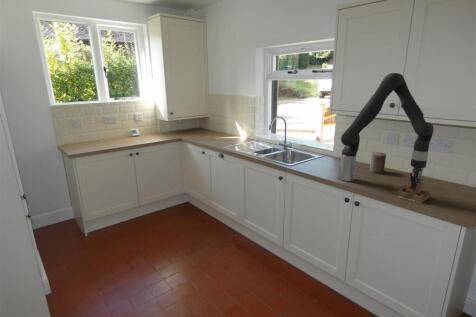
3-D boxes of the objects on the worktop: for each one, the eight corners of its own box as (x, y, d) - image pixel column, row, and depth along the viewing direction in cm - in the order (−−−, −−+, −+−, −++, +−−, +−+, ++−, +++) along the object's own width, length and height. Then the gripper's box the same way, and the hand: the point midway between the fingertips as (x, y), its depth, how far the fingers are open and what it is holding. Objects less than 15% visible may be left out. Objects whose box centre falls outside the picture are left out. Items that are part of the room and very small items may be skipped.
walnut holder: (396, 196, 167) (397, 190, 166) (404, 190, 175) (405, 185, 174) (421, 203, 158) (422, 197, 157) (428, 197, 166) (430, 191, 165)
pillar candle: (386, 172, 208) (389, 152, 205) (377, 174, 204) (380, 154, 201) (375, 169, 217) (377, 149, 213) (366, 170, 213) (368, 151, 209)
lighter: (404, 192, 168) (407, 176, 165) (406, 191, 170) (409, 175, 167) (420, 196, 162) (423, 179, 159) (421, 194, 164) (424, 178, 162)
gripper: (416, 154, 168) (411, 182, 172) (407, 159, 158) (402, 188, 163) (430, 157, 162) (425, 185, 167) (422, 162, 153) (417, 192, 158)
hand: (414, 186), depth 165 cm, fingers closed on lighter, 3 cm apart
